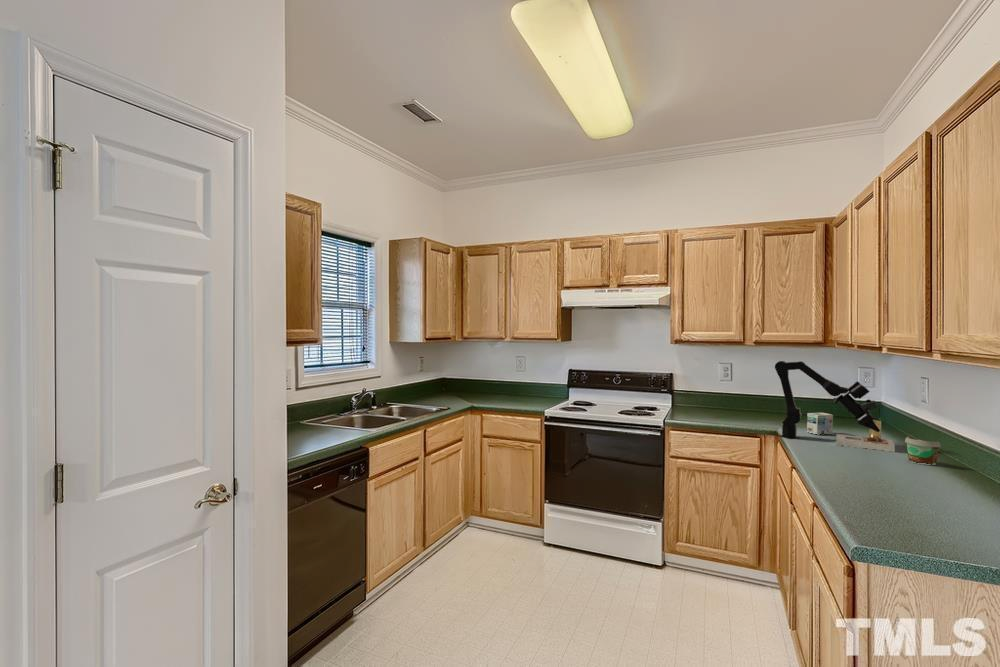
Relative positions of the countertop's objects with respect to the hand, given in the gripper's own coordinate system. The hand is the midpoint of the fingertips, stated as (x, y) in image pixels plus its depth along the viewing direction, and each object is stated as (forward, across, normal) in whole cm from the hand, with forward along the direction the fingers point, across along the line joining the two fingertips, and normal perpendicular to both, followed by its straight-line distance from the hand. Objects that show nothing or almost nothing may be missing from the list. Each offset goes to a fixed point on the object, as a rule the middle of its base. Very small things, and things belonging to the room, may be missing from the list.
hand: (878, 430), depth 236 cm
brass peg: (+4, 0, +6) cm, 7 cm away
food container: (+14, -24, -2) cm, 28 cm away
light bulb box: (-11, +20, +23) cm, 32 cm away
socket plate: (+2, 0, +10) cm, 10 cm away
